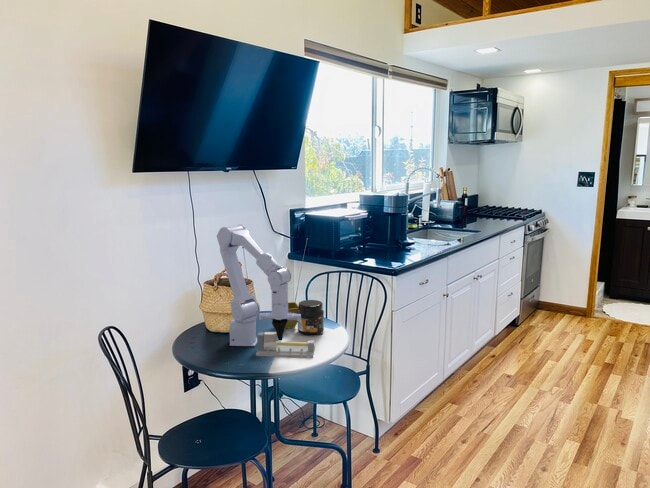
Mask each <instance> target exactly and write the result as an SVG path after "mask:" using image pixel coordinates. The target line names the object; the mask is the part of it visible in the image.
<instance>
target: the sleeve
mask: <svg viewBox="0 0 650 488" xmlns="http://www.w3.org/2000/svg"><path fill="white" fill-rule="evenodd" d="M276 342H279V340H278V336H277V333H276V331H264V350H267V347H269V350H277V347H278V345H276Z"/></svg>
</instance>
